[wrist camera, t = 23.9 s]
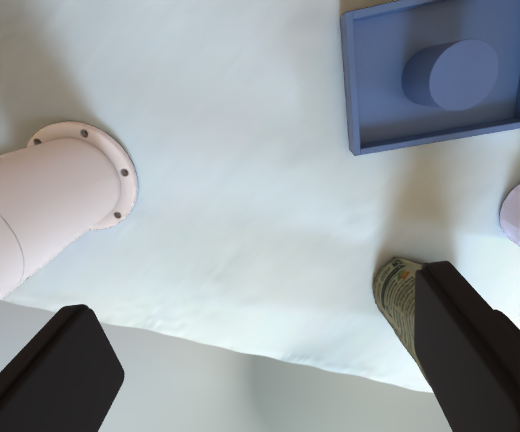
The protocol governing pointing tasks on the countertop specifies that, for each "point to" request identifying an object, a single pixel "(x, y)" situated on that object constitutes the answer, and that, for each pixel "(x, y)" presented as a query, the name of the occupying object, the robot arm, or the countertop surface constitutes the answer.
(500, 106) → the blue tray
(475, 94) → the blue cylinder
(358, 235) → the countertop surface
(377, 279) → the pouch
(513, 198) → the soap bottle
